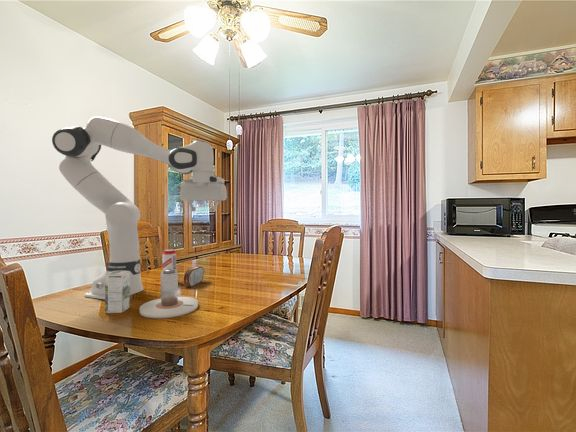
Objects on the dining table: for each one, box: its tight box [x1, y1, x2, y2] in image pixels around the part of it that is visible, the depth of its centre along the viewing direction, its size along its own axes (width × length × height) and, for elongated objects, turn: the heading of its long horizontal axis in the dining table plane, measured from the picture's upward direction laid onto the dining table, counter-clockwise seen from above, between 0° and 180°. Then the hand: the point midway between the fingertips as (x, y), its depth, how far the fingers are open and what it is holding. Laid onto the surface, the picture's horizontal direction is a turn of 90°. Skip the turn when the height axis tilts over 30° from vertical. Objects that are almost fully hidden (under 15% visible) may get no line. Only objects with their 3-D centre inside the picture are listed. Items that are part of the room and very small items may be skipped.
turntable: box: [139, 295, 199, 319], centre depth 105 cm, size 19×19×2 cm
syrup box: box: [104, 270, 131, 314], centre depth 104 cm, size 6×6×14 cm
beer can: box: [161, 248, 177, 271], centre depth 147 cm, size 6×6×16 cm
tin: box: [183, 265, 205, 288], centre depth 143 cm, size 15×3×8 cm, turn 169°
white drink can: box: [160, 269, 179, 306], centre depth 105 cm, size 6×6×12 cm
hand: (203, 211), depth 130 cm, fingers open, 8 cm apart
